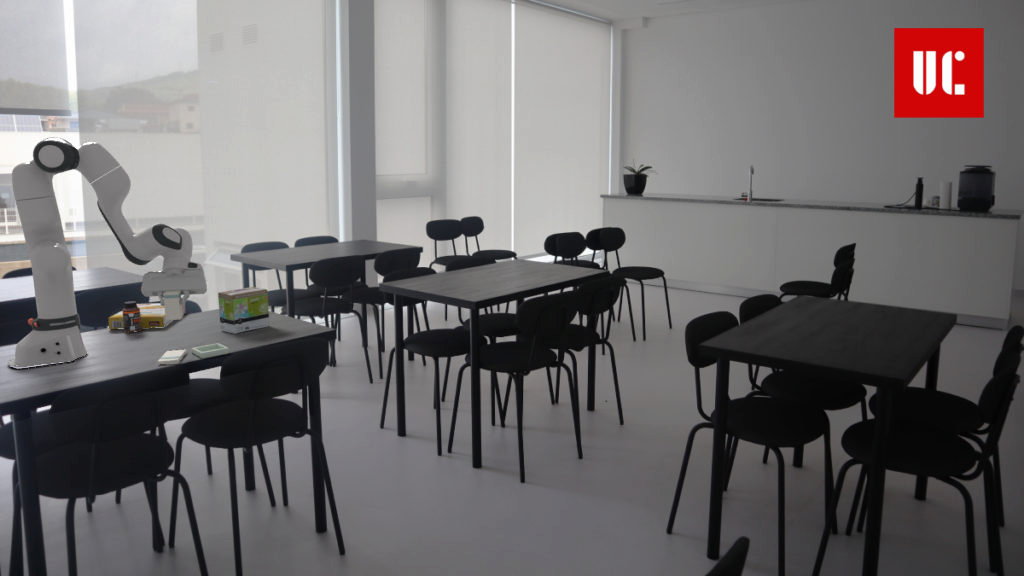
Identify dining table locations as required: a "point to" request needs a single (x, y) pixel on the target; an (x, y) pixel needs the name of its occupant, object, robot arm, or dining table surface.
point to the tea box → (243, 309)
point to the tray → (210, 350)
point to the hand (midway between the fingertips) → (172, 304)
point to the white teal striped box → (172, 305)
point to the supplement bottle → (131, 317)
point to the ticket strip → (172, 357)
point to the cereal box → (144, 317)
